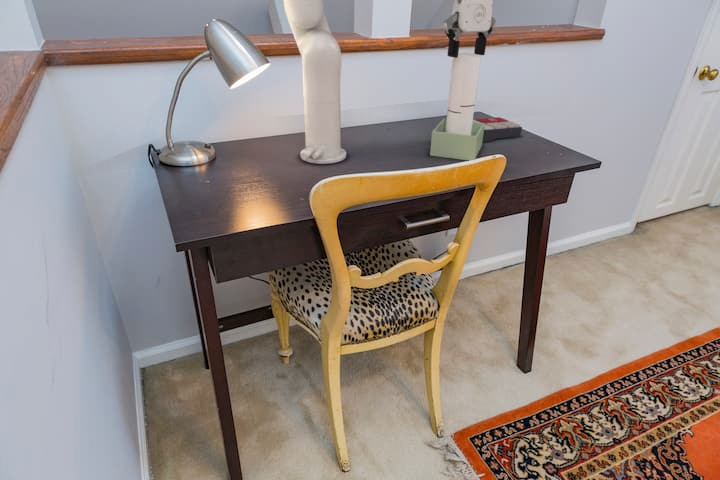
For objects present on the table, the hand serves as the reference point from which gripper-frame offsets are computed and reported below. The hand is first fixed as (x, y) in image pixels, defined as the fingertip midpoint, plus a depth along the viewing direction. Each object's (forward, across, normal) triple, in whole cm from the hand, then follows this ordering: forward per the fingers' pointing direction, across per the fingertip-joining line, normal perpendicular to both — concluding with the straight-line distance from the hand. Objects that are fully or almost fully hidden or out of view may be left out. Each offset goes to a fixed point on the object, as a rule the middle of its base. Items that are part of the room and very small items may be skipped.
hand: (466, 55), depth 127 cm
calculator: (+26, +21, +5) cm, 33 cm away
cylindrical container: (+25, 0, 0) cm, 25 cm away
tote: (+26, +1, 0) cm, 26 cm away
